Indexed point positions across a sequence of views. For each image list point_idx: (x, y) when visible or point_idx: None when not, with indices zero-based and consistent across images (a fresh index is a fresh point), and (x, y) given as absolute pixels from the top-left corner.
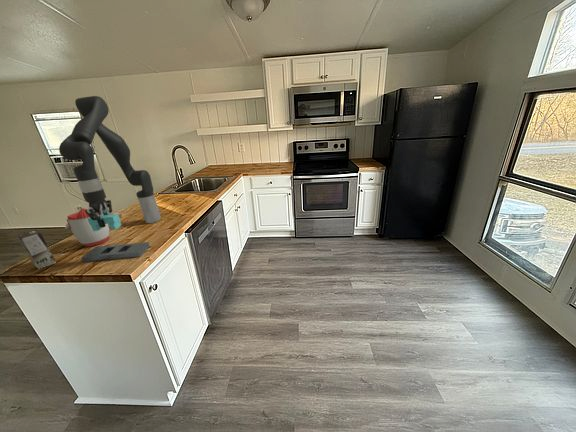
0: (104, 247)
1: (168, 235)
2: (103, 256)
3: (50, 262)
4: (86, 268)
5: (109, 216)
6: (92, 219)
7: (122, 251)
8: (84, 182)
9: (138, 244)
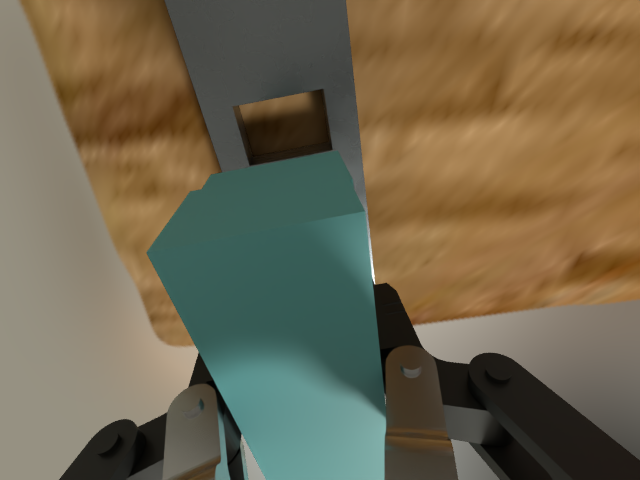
0: (324, 55)
1: (479, 302)
2: (218, 154)
3: None
4: (119, 103)
5: (304, 476)
6: (88, 459)
7: None
8: None
9: None
